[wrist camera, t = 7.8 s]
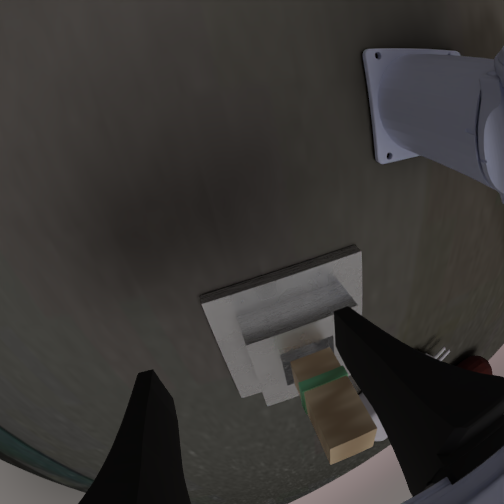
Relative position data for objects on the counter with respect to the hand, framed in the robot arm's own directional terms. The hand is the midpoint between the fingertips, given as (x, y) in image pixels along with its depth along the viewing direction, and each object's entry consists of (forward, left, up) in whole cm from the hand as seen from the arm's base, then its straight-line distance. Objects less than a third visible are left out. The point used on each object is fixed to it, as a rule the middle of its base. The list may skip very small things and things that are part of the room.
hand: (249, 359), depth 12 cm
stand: (-4, +10, -10) cm, 15 cm away
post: (-4, +10, -6) cm, 12 cm away
